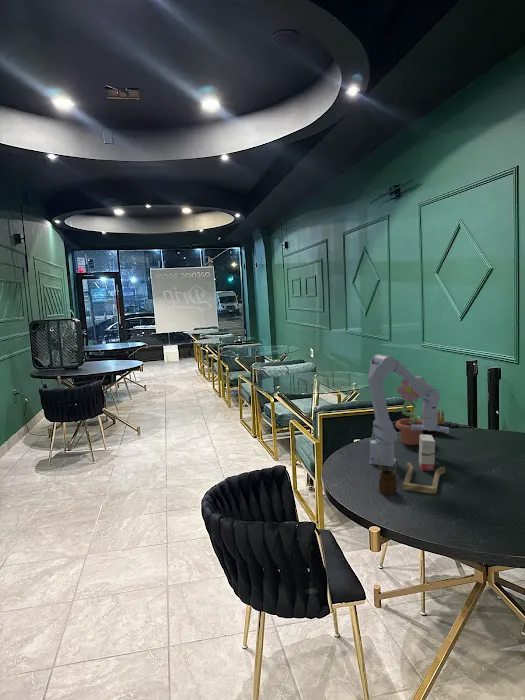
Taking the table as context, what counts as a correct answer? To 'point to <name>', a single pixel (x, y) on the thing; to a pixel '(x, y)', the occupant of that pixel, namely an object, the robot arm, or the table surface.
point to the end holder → (421, 488)
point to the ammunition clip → (438, 420)
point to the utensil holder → (387, 481)
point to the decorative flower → (405, 424)
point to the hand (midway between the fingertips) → (430, 447)
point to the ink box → (426, 452)
